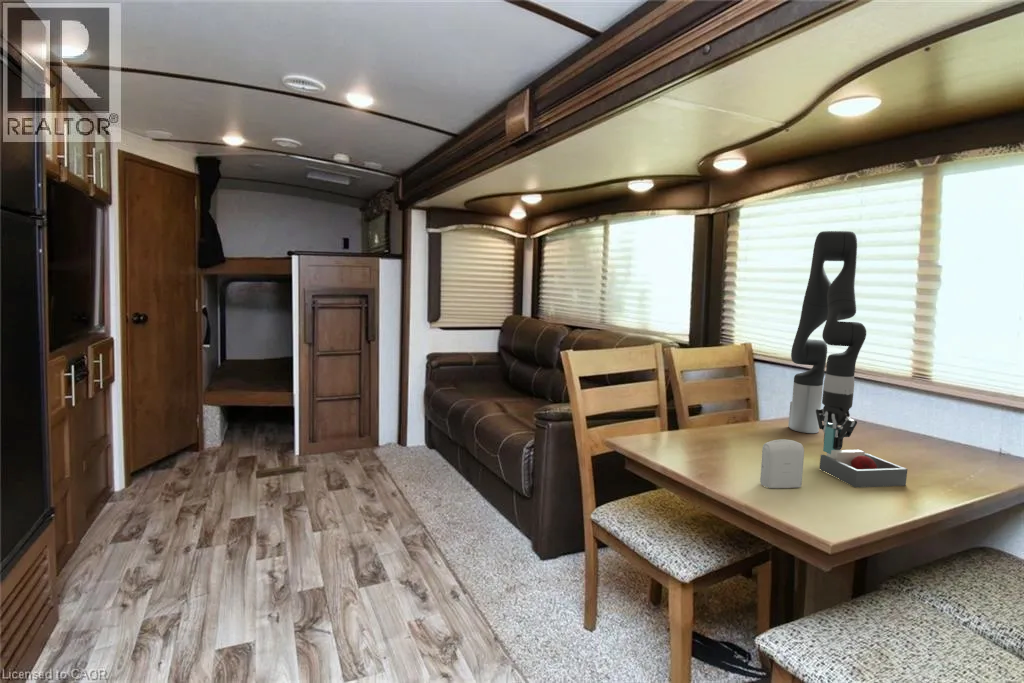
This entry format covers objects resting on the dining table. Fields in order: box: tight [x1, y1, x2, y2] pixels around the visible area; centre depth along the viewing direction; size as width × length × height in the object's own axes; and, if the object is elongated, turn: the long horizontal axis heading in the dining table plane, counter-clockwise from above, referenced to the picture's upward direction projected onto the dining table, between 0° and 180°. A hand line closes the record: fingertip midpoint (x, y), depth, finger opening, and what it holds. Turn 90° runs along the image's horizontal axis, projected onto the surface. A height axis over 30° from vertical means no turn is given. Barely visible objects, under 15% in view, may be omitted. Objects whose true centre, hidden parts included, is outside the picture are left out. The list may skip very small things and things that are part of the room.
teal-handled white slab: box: [822, 426, 866, 466], centre depth 152 cm, size 8×9×10 cm
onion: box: [851, 456, 877, 469], centre depth 145 cm, size 6×6×8 cm
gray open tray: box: [819, 452, 908, 488], centre depth 144 cm, size 13×15×4 cm
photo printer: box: [759, 438, 805, 489], centre depth 136 cm, size 10×4×12 cm, turn 96°
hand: (832, 447), depth 155 cm, fingers closed on teal-handled white slab, 3 cm apart
